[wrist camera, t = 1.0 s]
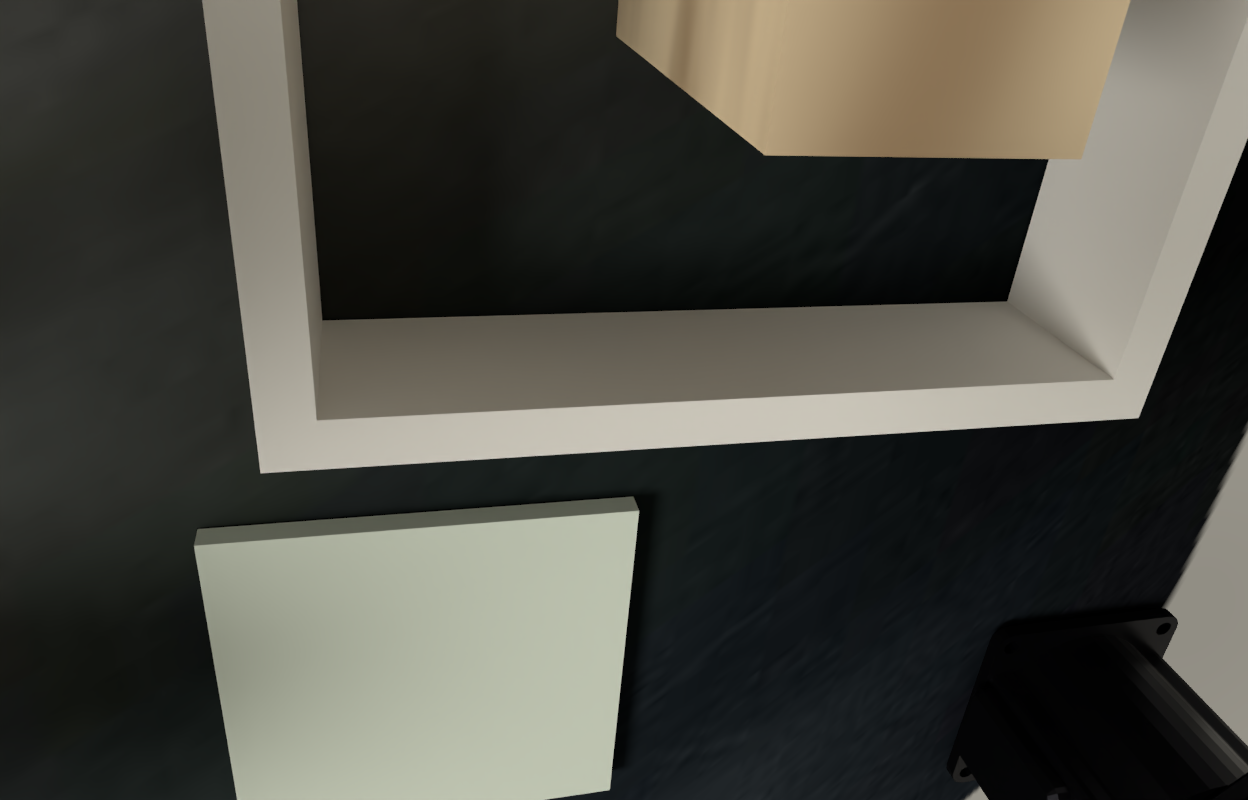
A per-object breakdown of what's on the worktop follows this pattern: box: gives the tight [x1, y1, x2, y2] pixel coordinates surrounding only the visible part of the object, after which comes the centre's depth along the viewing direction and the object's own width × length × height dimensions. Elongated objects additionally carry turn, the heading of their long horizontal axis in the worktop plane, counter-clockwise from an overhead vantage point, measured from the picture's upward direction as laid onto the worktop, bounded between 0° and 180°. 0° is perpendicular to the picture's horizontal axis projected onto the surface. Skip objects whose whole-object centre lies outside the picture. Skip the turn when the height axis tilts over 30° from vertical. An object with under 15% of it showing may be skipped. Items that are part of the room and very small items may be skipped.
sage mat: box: [194, 497, 639, 800], centre depth 25 cm, size 10×10×1 cm
